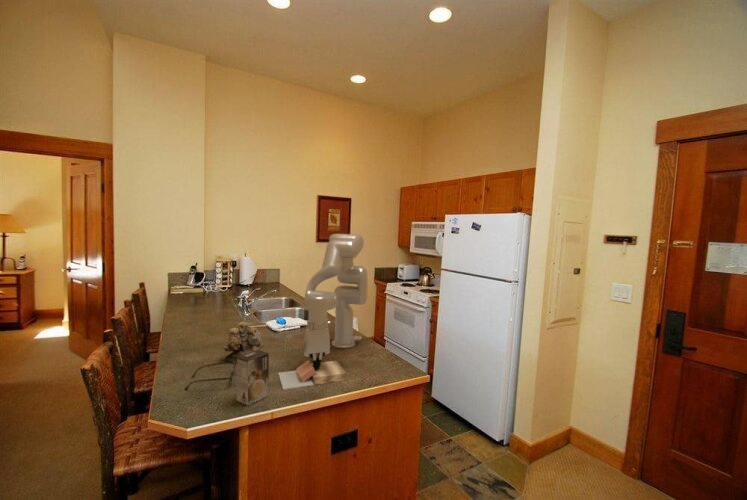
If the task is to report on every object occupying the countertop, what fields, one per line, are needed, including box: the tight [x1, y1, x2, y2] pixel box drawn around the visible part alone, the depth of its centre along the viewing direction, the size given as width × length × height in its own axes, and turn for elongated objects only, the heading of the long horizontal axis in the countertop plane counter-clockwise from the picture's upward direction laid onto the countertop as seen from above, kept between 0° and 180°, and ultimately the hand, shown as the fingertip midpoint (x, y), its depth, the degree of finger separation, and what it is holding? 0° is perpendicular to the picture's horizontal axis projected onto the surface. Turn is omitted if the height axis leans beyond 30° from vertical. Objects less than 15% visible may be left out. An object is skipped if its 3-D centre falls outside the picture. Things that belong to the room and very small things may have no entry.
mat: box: [278, 369, 315, 391], centre depth 136 cm, size 12×15×1 cm
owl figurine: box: [222, 321, 265, 365], centre depth 156 cm, size 18×12×17 cm, turn 129°
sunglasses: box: [184, 361, 237, 391], centre depth 133 cm, size 16×17×5 cm
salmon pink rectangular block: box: [296, 359, 316, 382], centre depth 138 cm, size 6×9×2 cm
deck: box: [310, 360, 347, 386], centre depth 141 cm, size 13×14×3 cm
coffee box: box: [236, 349, 270, 406], centre depth 120 cm, size 9×6×16 cm
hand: (316, 368), depth 139 cm, fingers closed
